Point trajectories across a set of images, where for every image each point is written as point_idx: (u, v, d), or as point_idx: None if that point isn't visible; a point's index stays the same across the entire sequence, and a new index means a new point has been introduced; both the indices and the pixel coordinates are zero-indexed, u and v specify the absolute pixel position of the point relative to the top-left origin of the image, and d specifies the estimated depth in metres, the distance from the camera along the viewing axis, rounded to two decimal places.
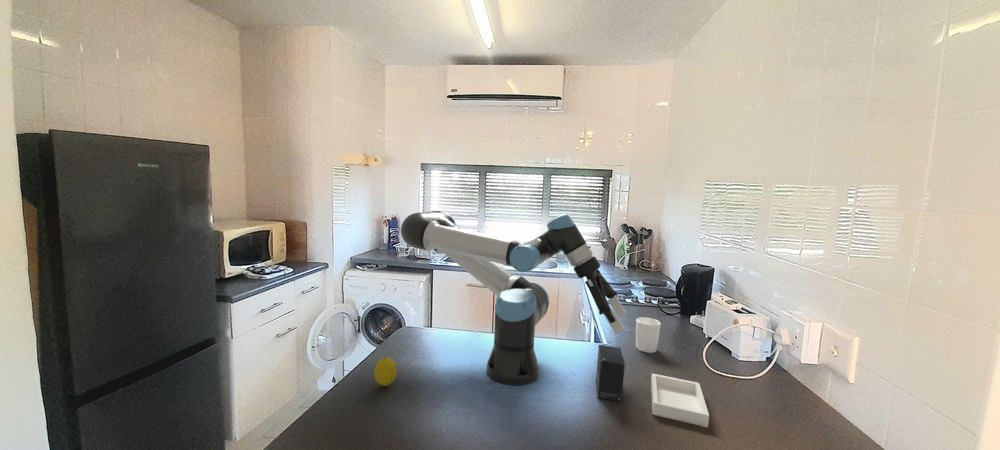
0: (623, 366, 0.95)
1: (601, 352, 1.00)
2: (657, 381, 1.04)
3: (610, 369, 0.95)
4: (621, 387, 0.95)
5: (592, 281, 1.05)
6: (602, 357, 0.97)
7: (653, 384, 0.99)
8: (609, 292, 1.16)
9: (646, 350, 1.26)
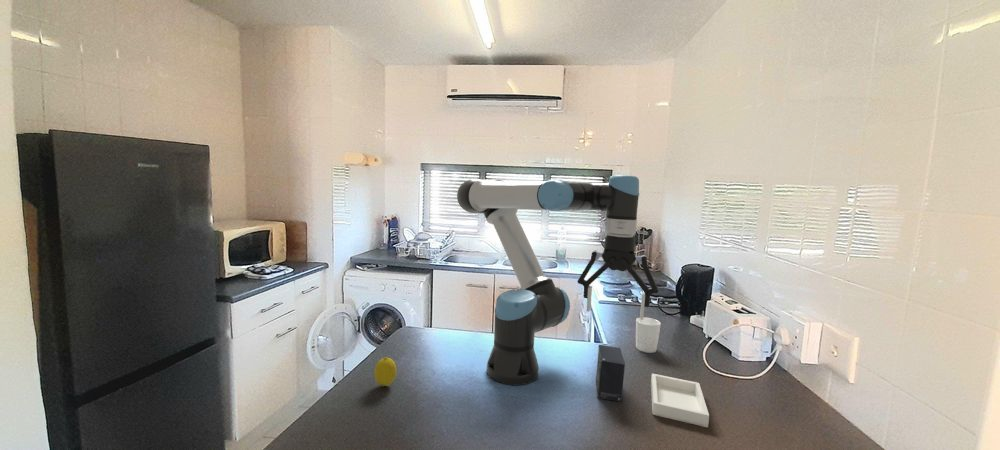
0: (623, 366, 0.95)
1: (601, 352, 1.00)
2: (657, 381, 1.04)
3: (610, 369, 0.95)
4: (621, 387, 0.95)
5: None
6: (602, 357, 0.97)
7: (653, 384, 0.99)
8: (640, 286, 0.95)
9: (646, 350, 1.26)
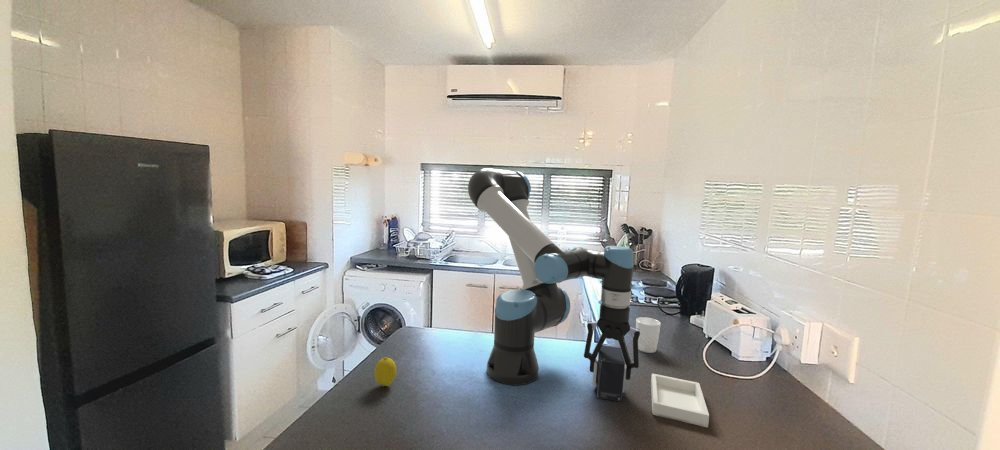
0: (623, 366, 0.95)
1: (601, 352, 1.00)
2: (657, 381, 1.04)
3: (610, 369, 0.95)
4: (621, 387, 0.95)
5: (587, 326, 1.01)
6: (602, 357, 0.97)
7: (653, 384, 0.99)
8: (624, 357, 0.98)
9: (646, 350, 1.26)
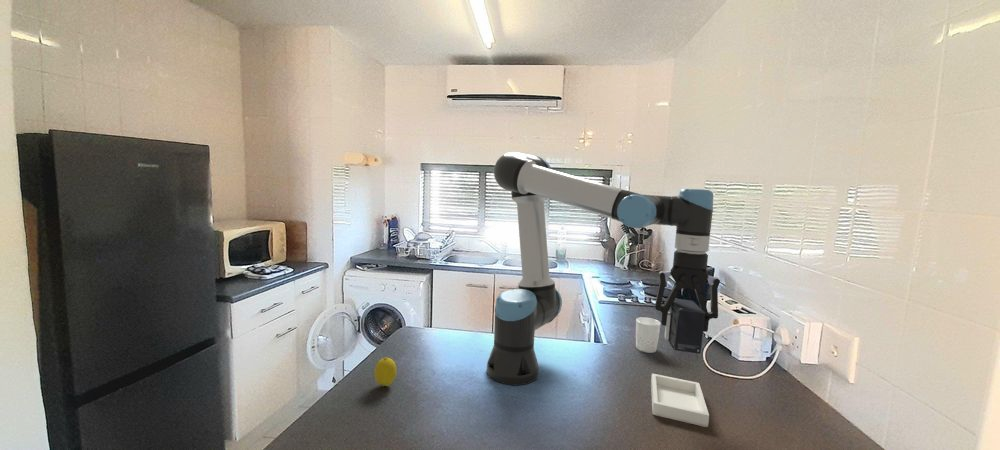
0: (703, 315, 0.88)
1: (675, 303, 0.94)
2: (657, 381, 1.04)
3: (689, 319, 0.89)
4: (701, 338, 0.88)
5: None
6: (678, 307, 0.91)
7: (653, 384, 0.99)
8: (701, 308, 0.92)
9: (646, 350, 1.26)
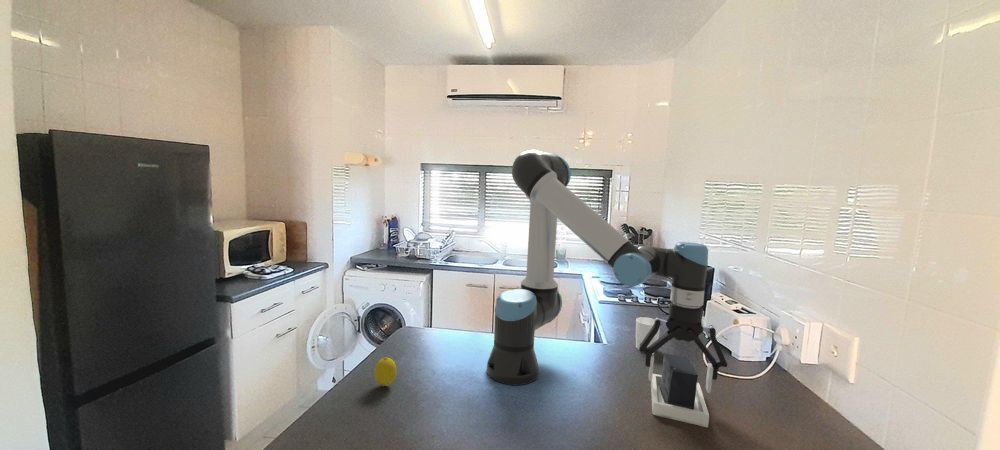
0: (696, 377, 0.89)
1: (669, 361, 0.95)
2: (657, 381, 1.04)
3: (681, 380, 0.90)
4: (693, 399, 0.90)
5: (655, 322, 0.96)
6: (672, 367, 0.92)
7: (653, 384, 0.99)
8: None
9: None
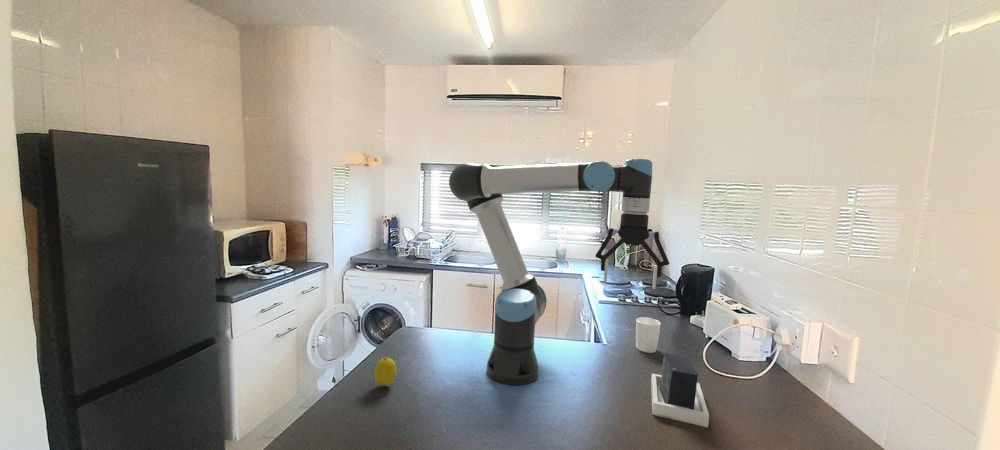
0: (696, 377, 0.89)
1: (669, 361, 0.95)
2: (657, 381, 1.04)
3: (681, 380, 0.90)
4: (693, 399, 0.90)
5: None
6: (672, 367, 0.92)
7: (653, 384, 0.99)
8: (652, 258, 1.06)
9: (646, 350, 1.26)
